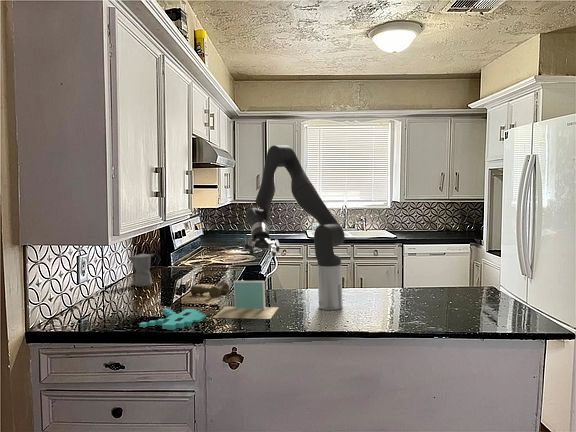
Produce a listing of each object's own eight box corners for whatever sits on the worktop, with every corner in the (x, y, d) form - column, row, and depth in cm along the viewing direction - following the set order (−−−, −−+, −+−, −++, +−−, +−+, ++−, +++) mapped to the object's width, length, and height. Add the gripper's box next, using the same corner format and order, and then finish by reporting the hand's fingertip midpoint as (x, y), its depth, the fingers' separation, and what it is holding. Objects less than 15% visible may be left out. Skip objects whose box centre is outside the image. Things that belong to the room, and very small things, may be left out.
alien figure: (139, 330, 163) (192, 331, 159) (139, 323, 163) (191, 325, 159) (165, 313, 183) (212, 315, 179) (165, 308, 183) (212, 309, 178)
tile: (265, 308, 180) (264, 280, 180) (264, 309, 178) (263, 281, 178) (236, 307, 183) (235, 280, 182) (234, 309, 181) (233, 281, 180)
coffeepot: (130, 288, 230) (128, 252, 228) (129, 284, 238) (127, 250, 237) (162, 284, 235) (160, 249, 234) (159, 281, 244) (158, 247, 243)
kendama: (198, 293, 216) (236, 294, 209) (187, 299, 207) (227, 300, 200) (197, 280, 215) (235, 281, 209) (186, 286, 206) (226, 286, 200)
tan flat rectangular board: (278, 309, 181) (278, 307, 181) (270, 321, 166) (270, 318, 166) (225, 308, 185) (225, 306, 185) (212, 320, 170) (212, 317, 170)
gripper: (244, 225, 194) (246, 244, 179) (277, 227, 196) (282, 247, 182) (242, 240, 197) (244, 260, 183) (275, 242, 199) (279, 263, 185)
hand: (263, 254), depth 182 cm, fingers open, 8 cm apart
